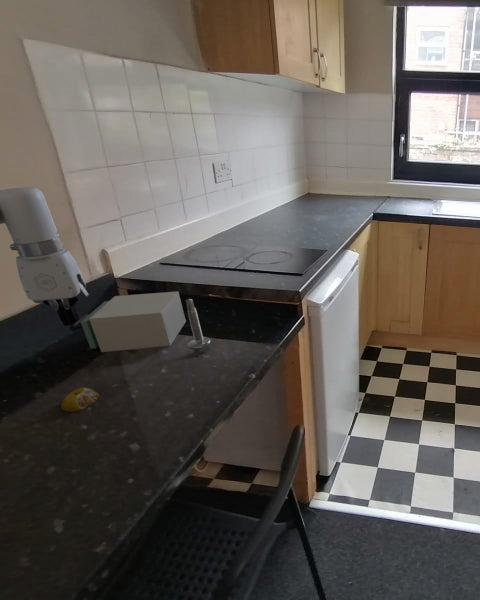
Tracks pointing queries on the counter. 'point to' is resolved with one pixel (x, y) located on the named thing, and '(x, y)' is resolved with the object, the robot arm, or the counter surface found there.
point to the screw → (196, 330)
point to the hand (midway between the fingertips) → (71, 322)
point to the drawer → (87, 327)
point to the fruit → (79, 399)
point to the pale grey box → (138, 321)
